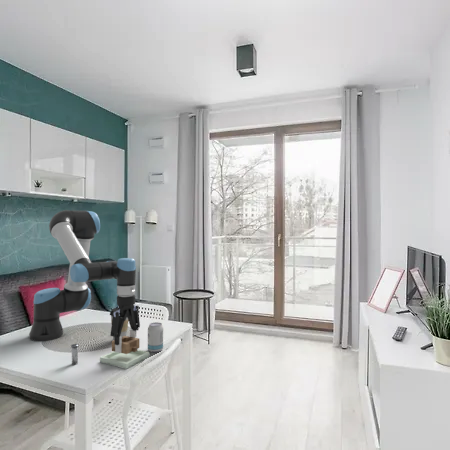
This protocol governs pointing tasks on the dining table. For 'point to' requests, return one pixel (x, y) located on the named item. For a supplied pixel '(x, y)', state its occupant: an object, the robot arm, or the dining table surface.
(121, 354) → the tray
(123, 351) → the brown rectangular frame
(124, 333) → the coffee cup
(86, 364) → the dining table surface
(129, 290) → the robot arm
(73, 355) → the grey round-topped rod
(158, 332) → the beverage can
